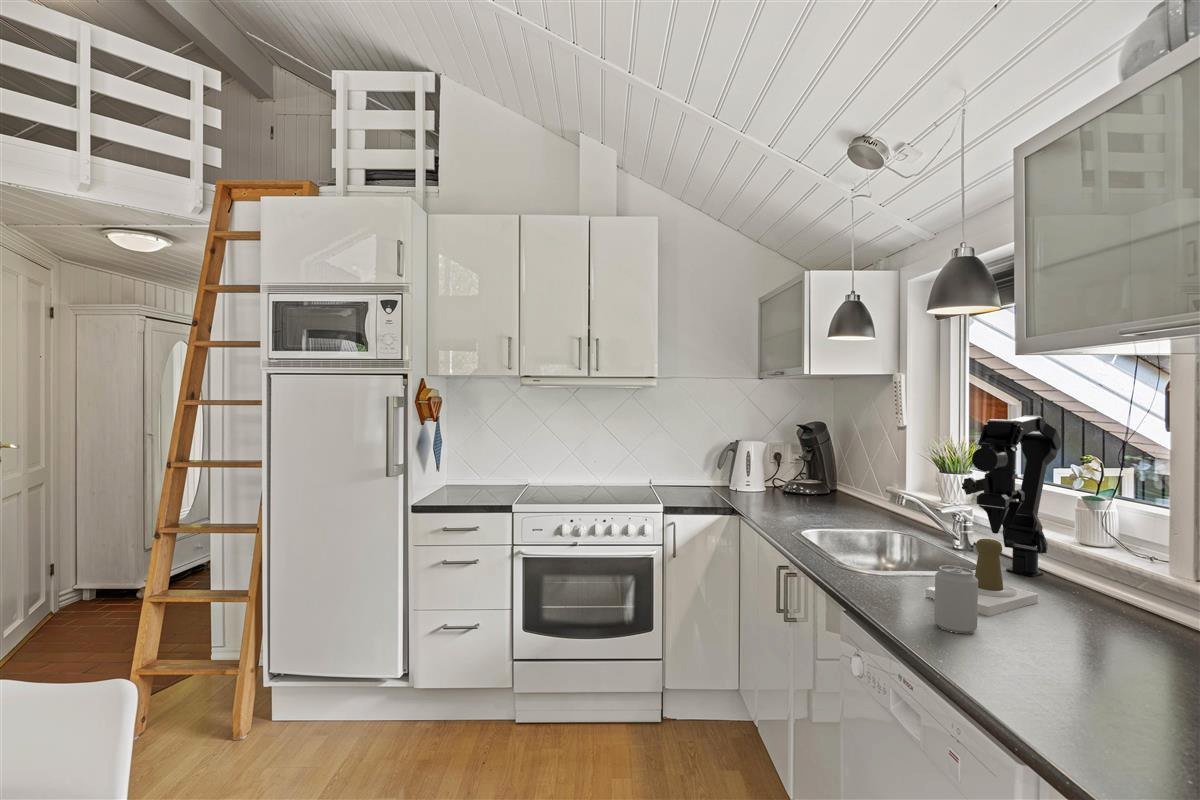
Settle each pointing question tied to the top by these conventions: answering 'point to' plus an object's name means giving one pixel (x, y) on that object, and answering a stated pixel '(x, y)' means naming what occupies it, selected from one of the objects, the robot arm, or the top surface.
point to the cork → (989, 565)
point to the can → (956, 599)
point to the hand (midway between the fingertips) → (1000, 530)
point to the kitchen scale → (999, 599)
